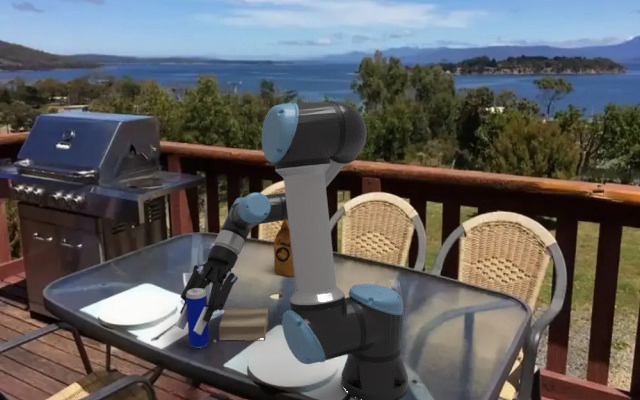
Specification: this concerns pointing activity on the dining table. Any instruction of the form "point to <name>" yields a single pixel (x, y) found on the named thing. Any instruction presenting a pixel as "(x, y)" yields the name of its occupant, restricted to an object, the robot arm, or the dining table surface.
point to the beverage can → (196, 316)
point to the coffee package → (283, 251)
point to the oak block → (243, 324)
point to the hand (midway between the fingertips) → (188, 330)
